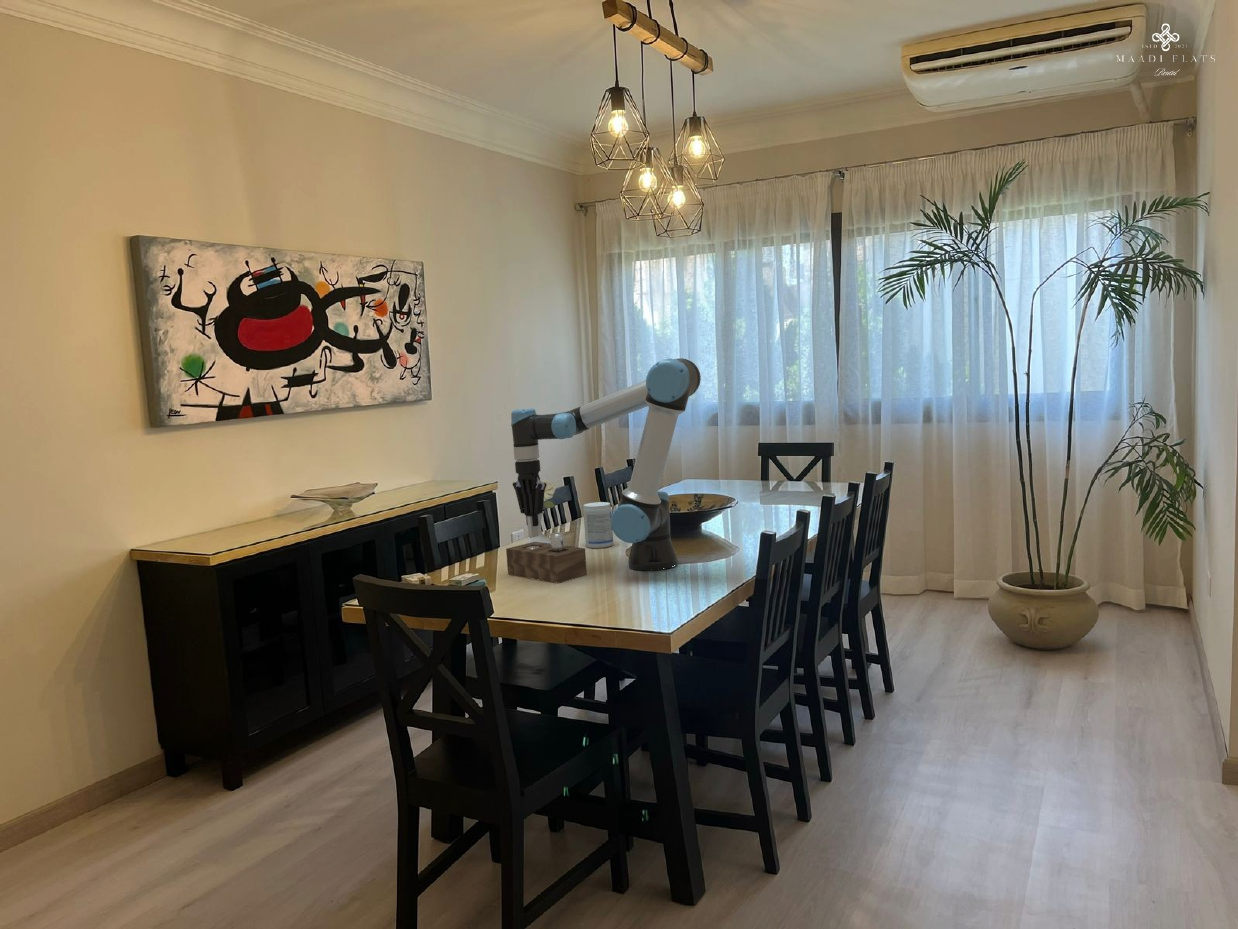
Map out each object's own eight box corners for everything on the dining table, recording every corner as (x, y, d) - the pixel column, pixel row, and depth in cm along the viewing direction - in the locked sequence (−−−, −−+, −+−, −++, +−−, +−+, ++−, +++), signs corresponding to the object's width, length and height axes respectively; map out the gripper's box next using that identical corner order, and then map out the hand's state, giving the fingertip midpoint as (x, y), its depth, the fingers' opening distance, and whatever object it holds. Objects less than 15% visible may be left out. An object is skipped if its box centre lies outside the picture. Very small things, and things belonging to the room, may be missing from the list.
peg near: (567, 557, 272) (566, 533, 271) (558, 560, 269) (556, 535, 268) (558, 556, 275) (557, 532, 274) (548, 559, 272) (547, 534, 271)
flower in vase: (517, 555, 307) (511, 481, 304) (530, 548, 317) (526, 477, 315) (552, 556, 302) (548, 481, 300) (565, 548, 313) (561, 476, 310)
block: (586, 574, 273) (585, 548, 272) (557, 583, 264) (556, 556, 264) (536, 566, 288) (535, 541, 287) (507, 574, 279) (506, 548, 278)
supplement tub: (618, 545, 313) (616, 503, 312) (595, 550, 308) (592, 507, 307) (603, 542, 322) (601, 500, 320) (580, 546, 316) (577, 504, 315)
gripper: (550, 458, 274) (557, 535, 277) (522, 458, 283) (528, 533, 286) (532, 461, 269) (539, 540, 271) (503, 461, 278) (510, 537, 280)
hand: (533, 536), depth 279 cm, fingers closed
